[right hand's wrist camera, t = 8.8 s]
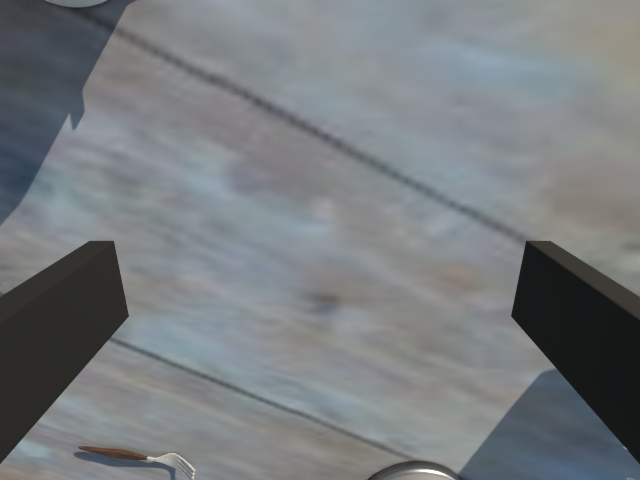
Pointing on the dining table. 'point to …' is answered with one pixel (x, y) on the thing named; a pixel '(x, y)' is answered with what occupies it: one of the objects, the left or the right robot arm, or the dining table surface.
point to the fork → (145, 458)
